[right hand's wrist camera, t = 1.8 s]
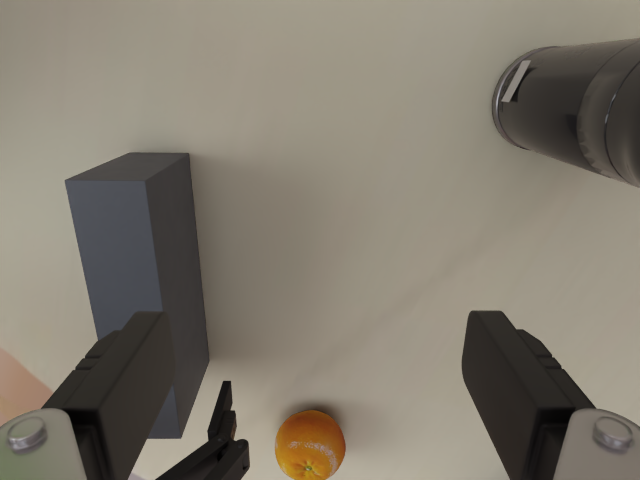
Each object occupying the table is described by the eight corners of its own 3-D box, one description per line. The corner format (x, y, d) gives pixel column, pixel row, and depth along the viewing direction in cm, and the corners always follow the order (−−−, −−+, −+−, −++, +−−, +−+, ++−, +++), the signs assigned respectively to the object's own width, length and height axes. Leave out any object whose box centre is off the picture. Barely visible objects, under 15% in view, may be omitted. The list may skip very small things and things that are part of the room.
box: (129, 152, 43) (64, 180, 32) (188, 153, 43) (145, 180, 32) (160, 360, 52) (118, 439, 41) (209, 360, 52) (181, 438, 41)
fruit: (253, 458, 53) (287, 503, 47) (280, 393, 53) (317, 430, 47) (303, 458, 58) (340, 498, 52) (327, 399, 58) (366, 433, 52)
